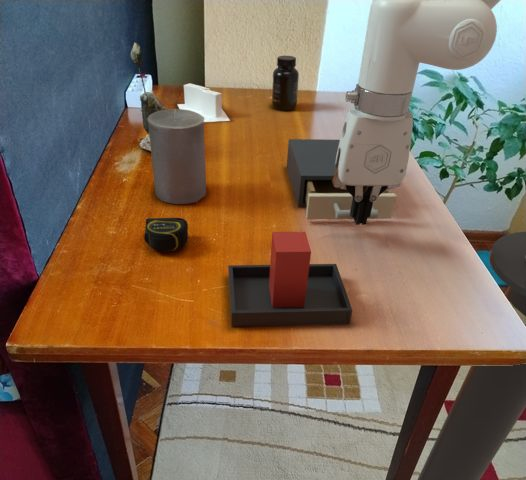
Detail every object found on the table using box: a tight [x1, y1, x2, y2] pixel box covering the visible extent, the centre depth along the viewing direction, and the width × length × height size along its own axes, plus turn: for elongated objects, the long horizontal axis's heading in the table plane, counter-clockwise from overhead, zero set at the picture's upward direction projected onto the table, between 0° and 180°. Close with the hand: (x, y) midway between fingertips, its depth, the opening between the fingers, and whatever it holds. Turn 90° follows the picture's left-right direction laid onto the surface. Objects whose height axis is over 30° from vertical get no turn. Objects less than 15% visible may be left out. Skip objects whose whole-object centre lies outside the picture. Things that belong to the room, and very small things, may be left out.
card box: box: [269, 231, 312, 308], centre depth 67 cm, size 4×5×9 cm
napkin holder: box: [177, 82, 231, 123], centre depth 126 cm, size 15×11×6 cm
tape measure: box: [143, 217, 189, 252], centre depth 78 cm, size 7×7×4 cm
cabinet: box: [286, 138, 340, 208], centre depth 96 cm, size 18×17×6 cm
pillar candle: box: [148, 108, 207, 205], centre depth 88 cm, size 10×10×15 cm
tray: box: [227, 263, 354, 328], centre depth 69 cm, size 16×11×2 cm
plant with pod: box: [130, 42, 167, 152], centre depth 102 cm, size 8×11×20 cm
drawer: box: [304, 180, 398, 220], centre depth 90 cm, size 21×15×4 cm
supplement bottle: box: [271, 55, 300, 112], centre depth 129 cm, size 7×7×12 cm
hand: (358, 220), depth 81 cm, fingers closed
